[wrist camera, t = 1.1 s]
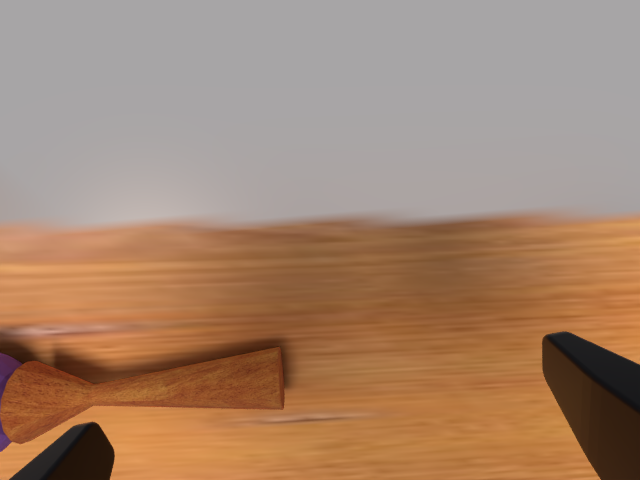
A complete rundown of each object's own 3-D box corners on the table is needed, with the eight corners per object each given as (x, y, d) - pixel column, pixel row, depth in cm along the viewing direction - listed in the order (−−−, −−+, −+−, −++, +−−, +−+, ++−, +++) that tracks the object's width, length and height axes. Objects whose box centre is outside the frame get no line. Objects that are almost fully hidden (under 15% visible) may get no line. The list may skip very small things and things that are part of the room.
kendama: (285, 463, 21) (-116, 503, 21) (287, 384, 27) (-29, 414, 26) (272, 366, 19) (-175, 408, 18) (277, 303, 25) (-66, 333, 24)
